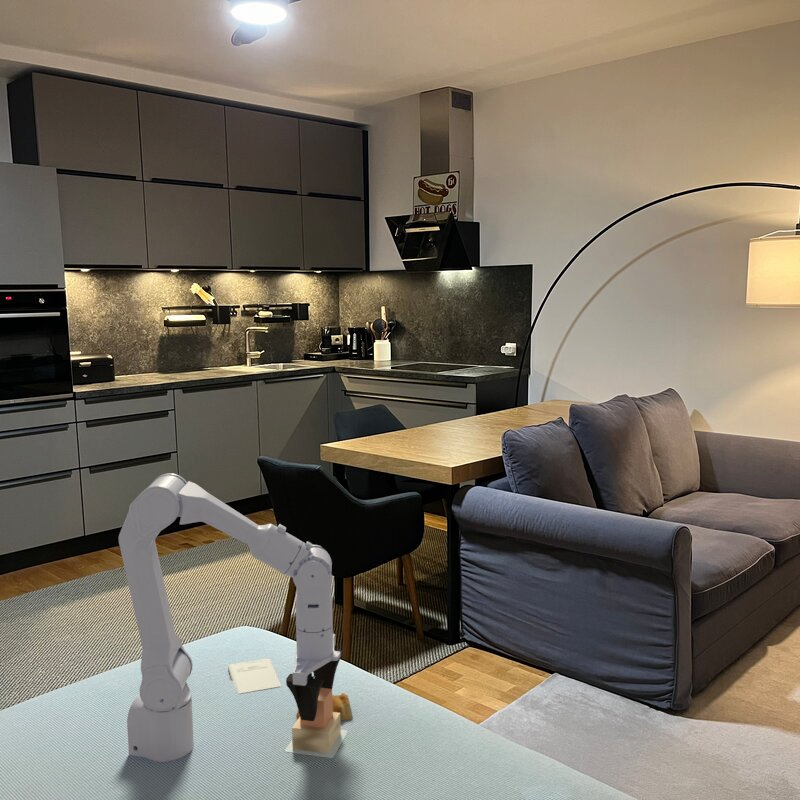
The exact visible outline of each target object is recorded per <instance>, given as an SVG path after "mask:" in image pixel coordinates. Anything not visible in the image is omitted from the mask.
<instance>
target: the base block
mask: <svg viewBox="0 0 800 800" xmlns="http://www.w3.org/2000/svg"><path fill="white" fill-rule="evenodd" d="M341 730H342V728H341V721H340V713H337V712H333V716H332V717H331V719H330V720H329V722H328V723H327V725H326V727H325V728H318V727H310V726H303V725H300V717H299V719H297V720H296V721H295V723H294V724H293V726H292V727H291V735H292V737H291V741H292V745H293V749H298V750H306V751H313V752H321V753H329V752H330V751H331V749H332V747H333V746H334V744H335V742H336V740H337V739H338V737H339V735H340V733H341Z"/></svg>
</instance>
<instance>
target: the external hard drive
mask: <svg viewBox="0 0 800 800" xmlns="http://www.w3.org/2000/svg"><path fill="white" fill-rule="evenodd" d="M227 669H228V673H230V674H229V676H230V679H231V681H232V682H233V685H234V689H235V690H236V691H237V693H238V694H237V695H242V694H243V695H244V694H248V693H253V692H254V693H255V692H258V691H265V690H266V691H267V690H269V689H277V688H281V687H283V686H282V685H281V684H282V683H281V682H280V680H279V678H278V675H277V672H276V670H275V668H274V665H273V662H272V660H271V659H270V658H262V659H256V660H255V659H254V660H250V661H249V660H248V661H243V662H236V663H231V664H229V665H227Z"/></svg>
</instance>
